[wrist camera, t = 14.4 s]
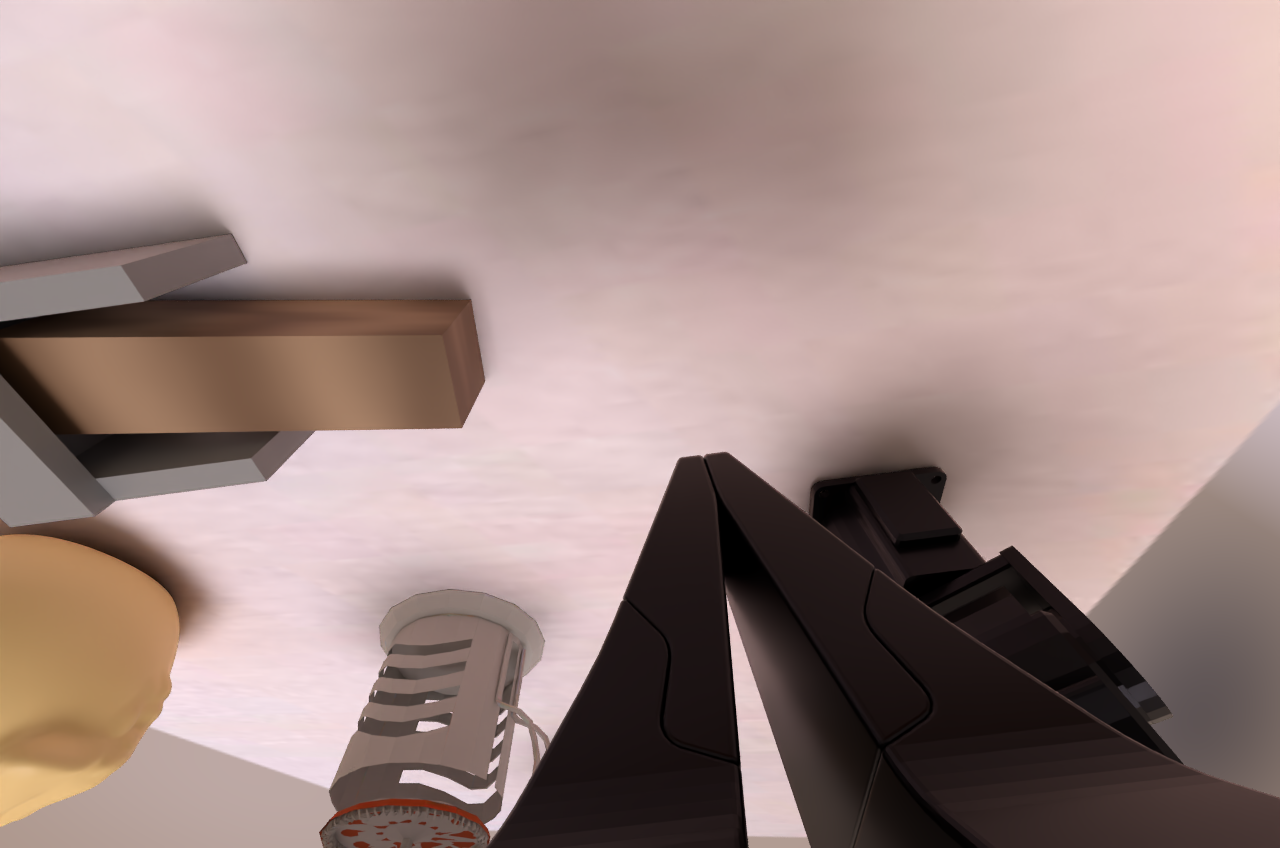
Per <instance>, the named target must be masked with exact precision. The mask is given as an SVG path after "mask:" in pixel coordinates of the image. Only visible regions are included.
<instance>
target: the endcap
mask: <svg viewBox="0 0 1280 848" xmlns="http://www.w3.org/2000/svg"><path fill="white" fill-rule="evenodd" d="M246 263H247V262H246V260H245V258H244V256H243V255H242V253H241V251H240V249H239V247H238V245H237V244H236V242H235V240H234V238H233V236H232V234H228V235H221V236H214V237H207V238H200V239H193V240H186V241H178V242H171V243H164V244H157V245H150V246H143V247H136V248H129V249H122V250H115V251H108V252H101V253H94V254H87V255H80V256H73V257H66V258H59V259H52V260H45V261H38V262H31V263H24V264H17V265H10V266H2V267H0V329H3V328H6V327H9V326H12V325H15V324H18V323H21V322H24V321H27V320H30V319H33V318H36V317H39V316H43V315H51V314H58V313H65V312H72V311H79V310H86V309H94V308H101V307H108V306H115V305H122V304H129V303H137V302H144V301H147V300H150V299H152V298H155V297H158V296H160V295H163V294H166V293H168V292H171V291H174V290H176V289H179V288H182V287H184V286H187V285H190V284H192V283H195V282H198V281H200V280H203V279H206V278H208V277H211V276H214V275H216V274H219V273H222V272H224V271H227V270H230V269H232V268H235V267H238V266H240V265H243V264H246ZM314 432H315V431H254V432H191V433H128V434H65V435H55V434H54V433H53V432H52V431H51V430H50V429H49V427H48V426H47V425H46V424H45V423H44V422H43V421H42V420H41V419H40V418H39V417H38V415H37V414H36V413H35V412H34V411H33V410H32V409H31V408H30V407H29V406H28V404H27V403H26V402H25V401H24V400H23V399H22V398H21V397H20V396H19V395H18V393H17V392H16V391H15V390H14V389H13V388H12V387H11V386H10V385H9V384H8V383H7V381H6V380H5V379H4V378H3V377H2V375H1V374H0V519H2V520H3V521H4V522H5V523H6V524H7V525H8V526H9V527H17V526H24V525H32V524H40V523H47V522H55V521H63V520H70V519H78V518H86V517H93V516H96V515H97V514H99V513H100V512H101V511H103V510H104V509H105V508H107V507H108V506H109V505H111V504H112V503H113V502H115V501H118V500H126V499H133V498H141V497H148V496H156V495H164V494H171V493H179V492H187V491H194V490H202V489H210V488H217V487H225V486H233V485H240V484H248V483H255V482H263V481H267V480H268V479H269V478H270V477H271V476H272V475H273V474H274V473H275V472H276V471H277V470H278V469H279V468H280V467H281V466H282V465H283V464H284V462H285V461H286V460H287V459H288V458H289V457H290V456H291V455H292V454H293V453H294V452H295V451H296V450H297V449H298V448H299V447H300V446H301V445H302V444H303V443H304V442H305V441H306V440H307V439H308V438H309V437H310V436H311V435H312V434H313V433H314Z"/></svg>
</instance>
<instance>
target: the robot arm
mask: <svg viewBox="0 0 1280 848" xmlns="http://www.w3.org/2000/svg"><path fill="white" fill-rule="evenodd" d="M933 477H934V478H933ZM945 482H946V474H945V473H944V472H943V471H942V470H941V469H940V468H939V467H928V468H921V469H913V470H905V471H897V472H889V473H881V474H874V475H866V476H858V477H850V478H842V479H834V480H827V481H821V482H818V483H816V484H815V485H814V486H813V487H812V490H811V500H810V512H809V515H808V514H807V513H805V512H804V511H803V510H802V509H800V508H799V507H798V506H796V505H795V504H794V503H793V502H791V501H790V500H789V499H787V498H786V497H785V496H784V495H782V494H781V493H780V492H778V491H777V490H776V489H775V488H773V487H772V486H771V485H769V484H768V483H767V482H766V481H764V480H763V479H762V478H760V477H759V476H758V475H757V474H755V473H754V472H753V471H751V470H750V469H749V468H747V467H746V466H745V465H744V464H742V463H741V462H740V461H738V460H737V459H736V458H735V457H733V456H732V455H731V454H729V453H727V452H720V453H712V454H706V455H705V456H704V458H703V457H702V456H700V455H697V456H689V457H682V458H679V460H678V461H677V464H676V466H675V469H674V471H673V474H672V476H671V479H670V481H669V484H668V486H667V489H666V491H665V494H664V496H663V499H662V501H661V504H660V506H659V509H658V511H657V514H656V516H655V519H654V521H653V524H652V526H651V529H650V531H649V534H648V536H647V539H646V541H645V544H644V546H643V549H642V551H641V554H640V556H639V559H638V561H637V564H636V566H635V569H634V571H633V574H632V576H631V579H630V581H629V584H628V586H627V589H626V591H625V594H624V596H623V601H621V603H620V606H619V608H618V611H617V613H616V616H615V618H614V621H613V623H612V625H611V628H610V630H609V632H608V634H607V637H606V639H605V641H604V643H603V646H602V648H601V650H600V652H599V655H598V657H597V659H596V660H595V662H594V664H593V666H592V668H591V670H590V672H589V674H588V676H587V678H586V680H585V681H584V683H583V685H582V687H581V689H580V691H579V693H578V695H577V696H576V698H575V700H574V702H573V704H572V705H571V707H570V709H569V711H568V712H567V714H566V716H565V718H564V720H563V721H562V723H561V725H560V727H559V729H558V730H557V732H556V734H555V736H554V737H553V739H552V741H551V743H550V745H549V746H548V748H547V750H546V752H545V753H544V755H543V757H542V759H541V761H540V762H539V764H538V766H537V768H536V770H535V771H534V773H533V775H532V777H531V778H530V780H529V782H528V784H527V786H526V787H525V789H524V791H523V793H522V794H521V796H520V798H519V799H518V801H517V803H516V804H515V806H514V808H513V809H512V811H511V812H510V814H509V816H508V817H507V819H506V820H505V822H504V823H503V825H502V826H501V828H500V829H499V830H498V832H497V833H496V835H495V836H494V837H493V838H492V840H491V841H490V842H489V844H488V845H487V846H486V847H485V848H749V847H748V838H747V828H746V818H745V807H744V797H743V785H742V774H741V762H740V751H739V739H738V727H737V716H736V704H735V692H734V681H733V669H732V658H731V646H730V634H729V623H728V611H727V599H726V595H727V598H728V601H729V604H730V607H731V610H732V613H733V616H734V619H735V622H736V625H737V628H738V631H739V634H740V637H741V640H742V643H743V646H744V649H745V652H746V655H747V658H748V661H749V664H750V667H751V670H752V673H753V676H754V679H755V682H756V684H757V687H758V690H759V693H760V696H761V699H762V702H763V705H764V708H765V711H766V714H767V717H768V720H769V723H770V726H771V729H772V732H773V735H774V738H775V741H776V744H777V747H778V750H779V753H780V756H781V759H782V762H783V765H784V768H785V771H786V774H787V777H788V780H789V783H790V786H791V789H792V792H793V795H794V798H795V801H796V804H797V807H798V810H799V813H800V816H801V819H802V822H803V825H804V828H805V831H806V834H807V837H808V840H809V843H810V846H811V848H1280V798H1279V797H1276V796H1273V795H1270V794H1267V793H1264V792H1260V791H1257V790H1254V789H1251V788H1248V787H1244V786H1241V785H1238V784H1235V783H1232V782H1229V781H1226V780H1223V779H1220V778H1216V777H1214V776H1211V775H1208V774H1205V773H1203V772H1200V771H1198V770H1195V769H1193V768H1190V767H1188V766H1186V765H1184V764H1183V763H1182V762H1181V761H1180V759H1179V758H1178V757H1177V756H1176V755H1175V754H1174V752H1173V751H1172V750H1171V749H1170V748H1169V747H1168V745H1167V744H1166V743H1165V742H1164V741H1163V740H1162V738H1161V737H1160V736H1159V735H1158V734H1157V733H1156V732H1155V730H1154V729H1153V728H1152V727H1151V726H1150V725H1152V724H1156V723H1158V722H1161V721H1164V720H1166V719H1169V718H1172V717H1173V716H1172V713H1171V712H1170V710H1169V709H1168V707H1167V706H1166V705H1165V704H1164V702H1163V701H1162V700H1161V698H1160V697H1159V696H1158V695H1157V694H1156V692H1155V691H1154V690H1153V689H1152V687H1151V686H1150V685H1149V684H1148V683H1147V681H1146V680H1145V679H1144V678H1143V677H1142V676H1141V675H1140V674H1139V672H1138V671H1137V670H1136V669H1135V668H1134V667H1133V665H1132V664H1131V663H1130V662H1129V661H1128V660H1127V659H1126V658H1125V657H1124V656H1123V654H1122V653H1121V652H1120V651H1119V650H1118V649H1117V648H1116V647H1115V646H1114V645H1113V644H1112V643H1111V641H1109V639H1108V638H1107V637H1106V636H1105V635H1104V634H1103V633H1102V632H1101V631H1100V630H1099V629H1098V628H1097V627H1096V626H1095V625H1094V624H1093V623H1092V622H1091V621H1090V620H1089V619H1088V618H1087V617H1086V616H1085V615H1084V614H1083V613H1082V612H1081V611H1080V610H1079V609H1078V608H1077V607H1076V606H1075V605H1074V604H1073V603H1072V602H1071V601H1070V600H1069V599H1068V598H1067V597H1066V596H1064V595H1063V594H1062V593H1061V592H1060V591H1059V590H1058V589H1057V588H1056V587H1055V586H1054V585H1053V584H1052V583H1051V582H1050V581H1049V580H1048V579H1047V578H1046V577H1045V576H1044V575H1043V574H1042V573H1040V572H1039V571H1038V570H1037V569H1036V568H1035V567H1034V566H1033V565H1032V564H1031V563H1030V562H1029V561H1028V560H1027V559H1026V558H1025V557H1024V556H1023V555H1022V554H1021V553H1020V552H1019V551H1018V550H1016V549H1015V548H1014V547H1013V546H1010V547H1008V548H1007V549H1005V550H1003V551H1001V552H999V553H1000V554H1001V555H999V556H997V557H995V558H993V559H991V560H989V561H987V562H986V561H985V560H984V559H983V558H982V557H981V556H980V554H979V553H978V552H977V551H976V550H975V549H974V547H973V546H972V545H971V544H970V543H969V542H968V540H967V539H966V538H965V537H964V536H963V535H962V529H961V527H960V526H959V525H958V524H957V523H956V522H955V520H954V519H953V518H952V517H951V516H950V515H949V514H948V512H947V511H946V510H945V509H944V508H943V507H942V505H941V504H940V500H941V497H942V493H943V489H944V486H945ZM823 490H825V491H824V492H822V493H820V492H821V491H823Z"/></svg>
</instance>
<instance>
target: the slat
mask: <svg viewBox="0 0 1280 848" xmlns="http://www.w3.org/2000/svg"><path fill="white" fill-rule="evenodd" d="M0 374H1V375H2V377H3V378H4V379H5V380H6V381H7V383H8V384H9V385H10V386H11V387H12V388H13V389H14V390H15V391H16V392H17V393H18V395H19V396H20V397H21V398H22V399H23V400H24V401H25V402H26V403H27V404H28V406H29V407H30V408H31V409H32V410H33V411H34V412H35V413H36V414H37V415H38V417H39V418H40V419H41V420H42V421H43V422H44V423H45V424H46V425H47V426H48V427H49V429H50V430H51V431H52V432H53V433H54V434H55V435H65V434H128V433H191V432H254V431H316V430H379V429H442V428H462V427H463V425H464V423H465V421H466V419H467V417H468V415H469V413H470V411H471V409H472V407H473V405H474V403H475V401H476V399H477V397H478V395H479V393H480V391H481V389H482V387H483V385H484V383H485V378H484V372H483V366H482V360H481V354H480V349H479V343H478V337H477V331H476V325H475V320H474V314H473V308H472V302H471V300H147V301H144V302H137V303H129V304H122V305H115V306H108V307H101V308H94V309H86V310H79V311H72V312H65V313H58V314H51V315H43V316H39V317H36V318H33V319H30V320H27V321H24V322H21V323H18V324H15V325H12V326H9V327H6V328H3V329H0Z"/></svg>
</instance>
